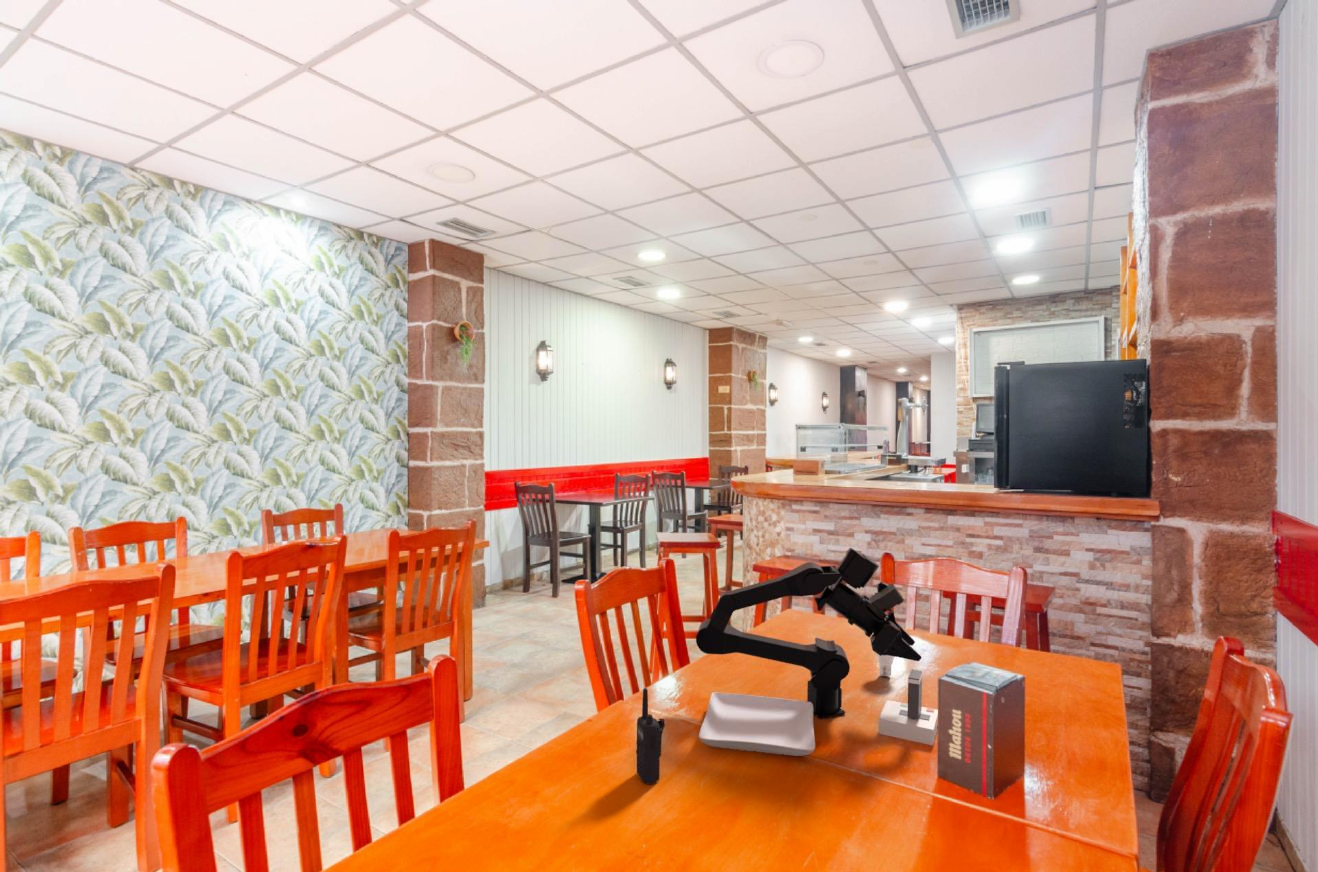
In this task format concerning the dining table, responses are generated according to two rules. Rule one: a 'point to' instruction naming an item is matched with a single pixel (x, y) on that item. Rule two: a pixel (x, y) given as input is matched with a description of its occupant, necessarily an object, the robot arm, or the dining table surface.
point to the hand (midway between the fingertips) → (916, 651)
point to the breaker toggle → (915, 694)
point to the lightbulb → (885, 664)
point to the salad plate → (759, 724)
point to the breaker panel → (908, 723)
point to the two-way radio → (648, 744)
